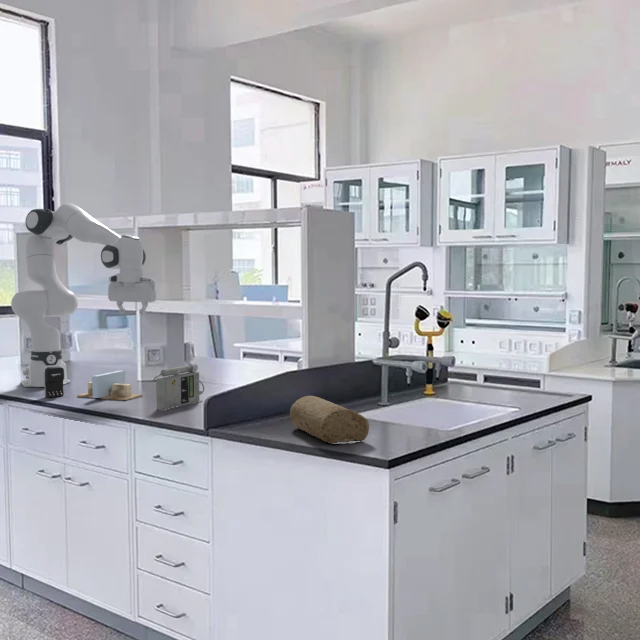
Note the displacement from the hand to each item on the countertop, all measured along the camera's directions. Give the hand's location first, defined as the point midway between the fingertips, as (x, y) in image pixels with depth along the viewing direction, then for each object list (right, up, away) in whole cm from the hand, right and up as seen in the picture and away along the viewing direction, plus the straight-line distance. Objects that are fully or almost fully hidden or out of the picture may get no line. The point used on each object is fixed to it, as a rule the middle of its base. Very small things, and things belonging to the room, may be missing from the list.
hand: (132, 313), depth 287 cm
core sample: (+74, -36, -74) cm, 111 cm away
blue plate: (-6, -30, -8) cm, 32 cm away
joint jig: (-6, -31, -8) cm, 33 cm away
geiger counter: (+24, -32, -24) cm, 47 cm away
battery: (-27, -31, -8) cm, 42 cm away
